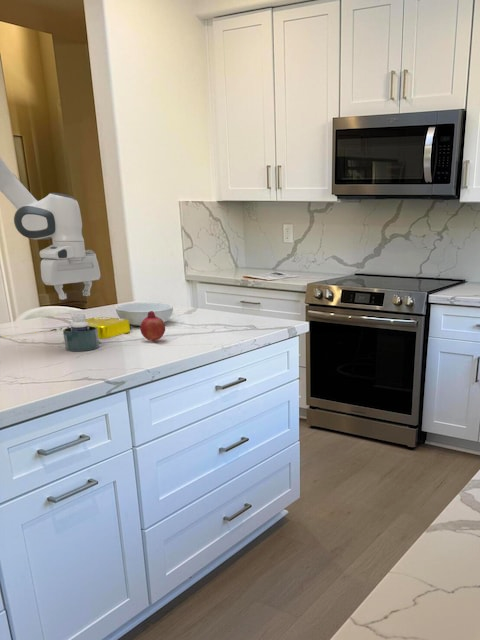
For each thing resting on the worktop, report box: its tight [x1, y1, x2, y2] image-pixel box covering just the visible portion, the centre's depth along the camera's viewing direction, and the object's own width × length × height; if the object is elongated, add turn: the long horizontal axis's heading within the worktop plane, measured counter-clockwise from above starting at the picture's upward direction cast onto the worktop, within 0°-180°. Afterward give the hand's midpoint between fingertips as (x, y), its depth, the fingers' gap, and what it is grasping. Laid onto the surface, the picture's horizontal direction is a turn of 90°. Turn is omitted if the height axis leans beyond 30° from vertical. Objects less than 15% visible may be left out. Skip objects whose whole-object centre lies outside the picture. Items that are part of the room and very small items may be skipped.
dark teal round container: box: [62, 326, 100, 352], centre depth 192 cm, size 10×10×6 cm
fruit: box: [139, 311, 166, 342], centre depth 202 cm, size 8×8×10 cm
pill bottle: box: [69, 313, 89, 332], centre depth 191 cm, size 5×5×10 cm
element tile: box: [85, 315, 131, 340], centre depth 213 cm, size 15×15×5 cm
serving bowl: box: [115, 301, 174, 327], centre depth 231 cm, size 21×21×7 cm
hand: (75, 297), depth 188 cm, fingers open, 8 cm apart
